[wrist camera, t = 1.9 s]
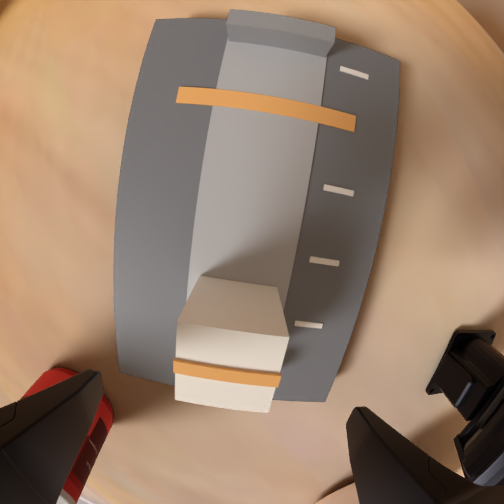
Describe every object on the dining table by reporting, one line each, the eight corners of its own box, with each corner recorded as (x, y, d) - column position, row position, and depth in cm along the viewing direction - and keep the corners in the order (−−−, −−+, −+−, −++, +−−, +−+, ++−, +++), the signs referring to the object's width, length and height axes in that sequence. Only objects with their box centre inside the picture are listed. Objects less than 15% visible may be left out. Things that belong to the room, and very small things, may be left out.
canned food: (33, 360, 19) (-30, 430, 8) (95, 367, 19) (29, 465, 8) (66, 419, 21) (23, 490, 10) (128, 430, 20) (92, 521, 10)
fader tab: (278, 287, 15) (291, 339, 10) (264, 351, 16) (269, 415, 11) (199, 275, 14) (174, 322, 9) (192, 340, 15) (173, 401, 10)
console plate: (386, 71, 14) (416, 49, 10) (319, 384, 19) (331, 422, 15) (164, 33, 13) (145, 2, 9) (129, 356, 18) (108, 390, 14)
